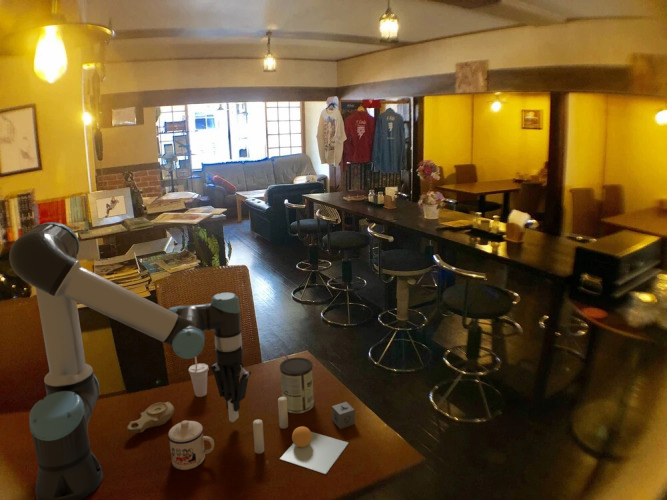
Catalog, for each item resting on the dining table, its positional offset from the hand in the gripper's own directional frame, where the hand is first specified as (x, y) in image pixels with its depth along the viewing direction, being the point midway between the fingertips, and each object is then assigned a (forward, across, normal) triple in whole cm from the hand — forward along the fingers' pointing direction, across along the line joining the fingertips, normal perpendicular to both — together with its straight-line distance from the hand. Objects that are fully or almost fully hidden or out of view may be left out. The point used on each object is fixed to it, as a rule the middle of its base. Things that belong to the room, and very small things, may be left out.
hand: (233, 419), depth 149 cm
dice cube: (+3, -29, -16) cm, 33 cm away
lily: (+3, -1, -33) cm, 33 cm away
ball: (0, -23, -1) cm, 23 cm away
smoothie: (+3, +22, -10) cm, 24 cm away
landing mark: (+2, -27, 0) cm, 27 cm away
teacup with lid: (+3, +1, +17) cm, 17 cm away
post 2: (+3, -13, -6) cm, 15 cm away
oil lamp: (+3, +23, +10) cm, 25 cm away
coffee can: (+3, -11, -18) cm, 22 cm away
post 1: (+3, -13, +6) cm, 15 cm away
